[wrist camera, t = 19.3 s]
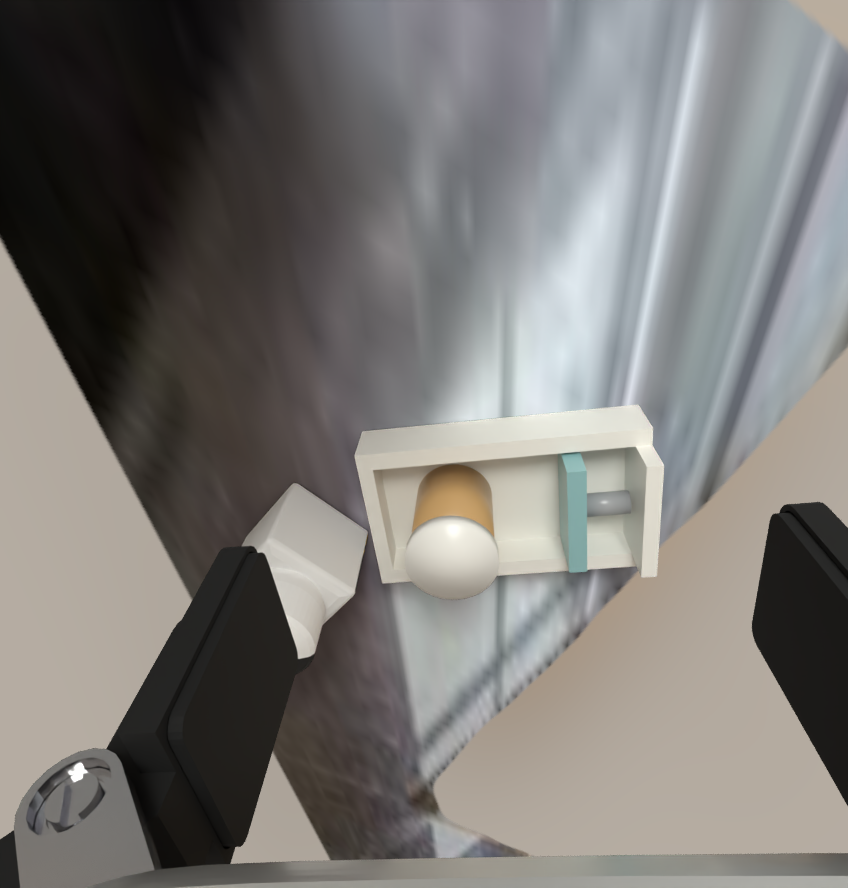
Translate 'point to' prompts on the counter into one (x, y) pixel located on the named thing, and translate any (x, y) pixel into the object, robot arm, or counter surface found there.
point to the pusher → (582, 508)
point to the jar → (453, 534)
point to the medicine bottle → (309, 562)
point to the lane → (521, 485)
